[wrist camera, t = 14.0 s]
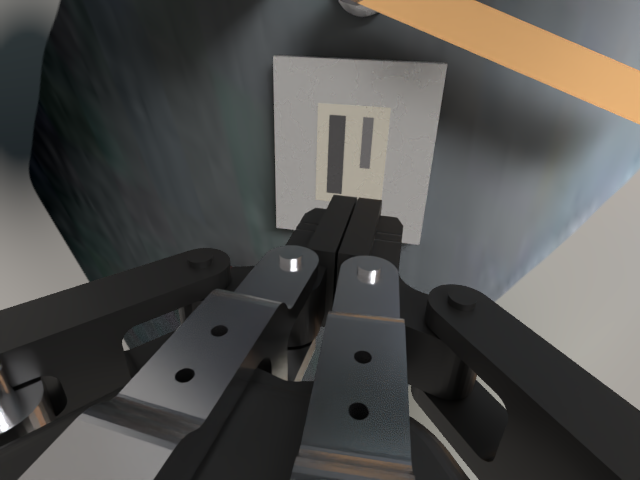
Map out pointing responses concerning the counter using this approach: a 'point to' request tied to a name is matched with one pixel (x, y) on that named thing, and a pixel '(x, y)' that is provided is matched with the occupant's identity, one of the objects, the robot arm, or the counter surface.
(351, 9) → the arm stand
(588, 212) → the counter surface
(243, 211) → the counter surface
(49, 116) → the counter surface
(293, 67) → the plate
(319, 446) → the robot arm
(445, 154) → the counter surface
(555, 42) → the swing arm
